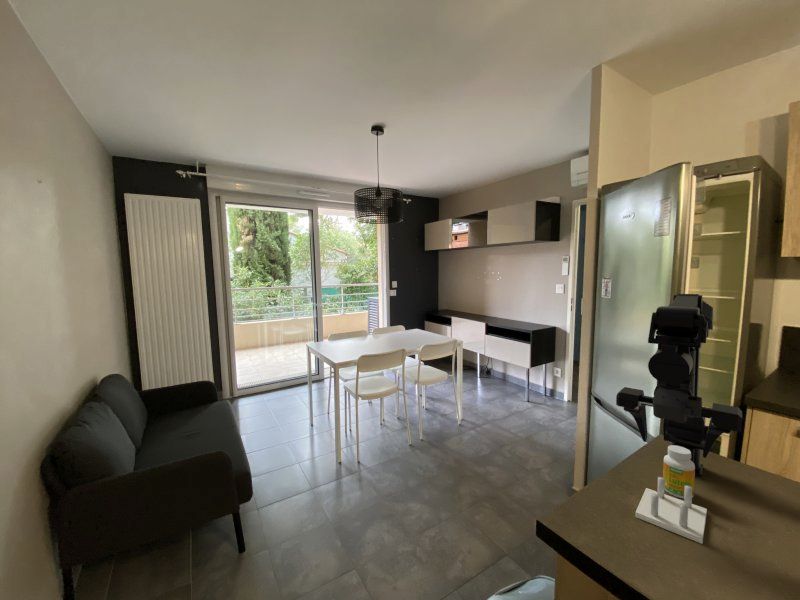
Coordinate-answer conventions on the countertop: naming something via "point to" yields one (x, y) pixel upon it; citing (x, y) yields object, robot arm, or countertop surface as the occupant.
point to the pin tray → (673, 512)
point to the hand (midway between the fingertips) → (673, 448)
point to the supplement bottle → (678, 471)
